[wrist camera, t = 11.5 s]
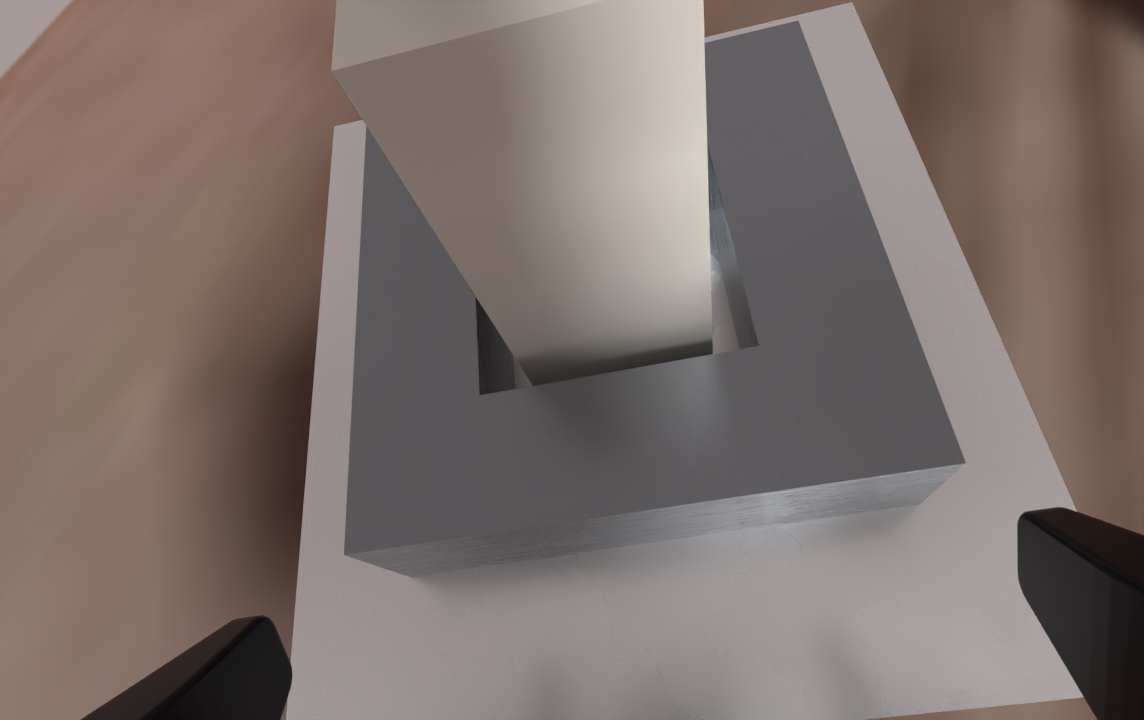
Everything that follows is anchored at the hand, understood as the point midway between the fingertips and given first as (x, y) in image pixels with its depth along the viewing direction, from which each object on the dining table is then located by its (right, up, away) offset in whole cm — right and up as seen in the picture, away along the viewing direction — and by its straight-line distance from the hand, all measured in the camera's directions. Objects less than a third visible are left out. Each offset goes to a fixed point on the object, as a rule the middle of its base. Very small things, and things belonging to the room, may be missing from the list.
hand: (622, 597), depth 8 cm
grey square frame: (+1, +4, +11) cm, 12 cm away
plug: (+1, +4, +10) cm, 11 cm away
